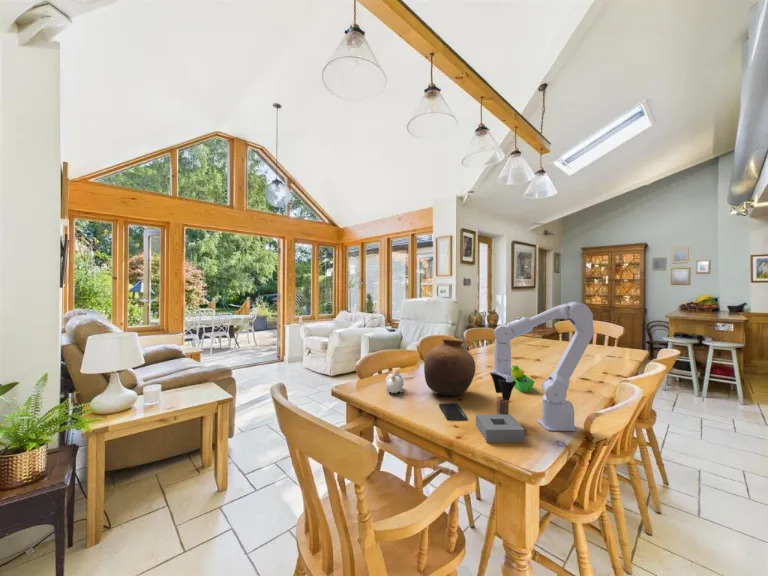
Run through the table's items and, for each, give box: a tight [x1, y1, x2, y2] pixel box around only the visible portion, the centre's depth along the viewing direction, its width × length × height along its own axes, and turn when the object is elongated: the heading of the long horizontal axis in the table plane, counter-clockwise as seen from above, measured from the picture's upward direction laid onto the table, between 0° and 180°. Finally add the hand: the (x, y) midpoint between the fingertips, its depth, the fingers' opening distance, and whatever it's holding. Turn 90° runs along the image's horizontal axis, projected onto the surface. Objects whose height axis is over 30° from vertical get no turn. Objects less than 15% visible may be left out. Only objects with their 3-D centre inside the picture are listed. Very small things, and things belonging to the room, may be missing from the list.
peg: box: [496, 396, 510, 415], centre depth 119 cm, size 3×3×8 cm
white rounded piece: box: [384, 370, 405, 394], centre depth 152 cm, size 10×8×15 cm
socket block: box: [475, 413, 526, 443], centre depth 108 cm, size 12×12×4 cm
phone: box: [438, 402, 468, 421], centre depth 126 cm, size 8×1×15 cm
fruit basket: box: [511, 364, 536, 393], centre depth 154 cm, size 11×9×11 cm
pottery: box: [423, 338, 476, 397], centre depth 148 cm, size 23×23×25 cm
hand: (502, 396), depth 119 cm, fingers open, 7 cm apart
